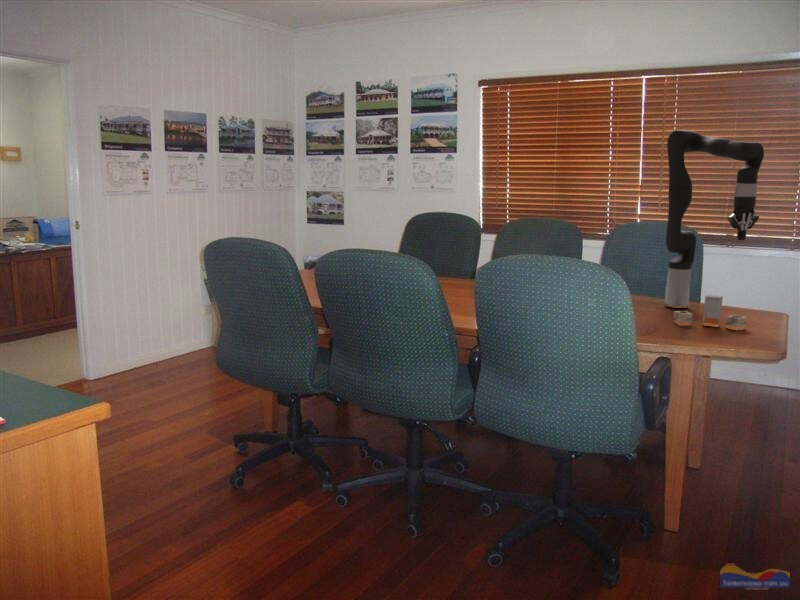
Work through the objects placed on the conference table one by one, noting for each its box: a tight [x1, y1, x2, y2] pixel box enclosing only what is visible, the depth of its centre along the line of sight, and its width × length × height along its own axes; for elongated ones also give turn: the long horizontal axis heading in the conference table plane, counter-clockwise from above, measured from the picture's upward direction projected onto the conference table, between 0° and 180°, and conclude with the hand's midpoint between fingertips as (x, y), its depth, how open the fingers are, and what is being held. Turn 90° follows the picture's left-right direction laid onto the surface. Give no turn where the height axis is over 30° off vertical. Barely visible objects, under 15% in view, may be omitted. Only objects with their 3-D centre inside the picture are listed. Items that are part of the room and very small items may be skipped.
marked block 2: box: [725, 314, 748, 327], centre depth 252 cm, size 5×5×5 cm
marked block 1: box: [673, 310, 693, 323], centre depth 260 cm, size 5×5×5 cm
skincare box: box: [702, 294, 724, 325], centre depth 256 cm, size 6×4×12 cm
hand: (741, 239), depth 262 cm, fingers closed
